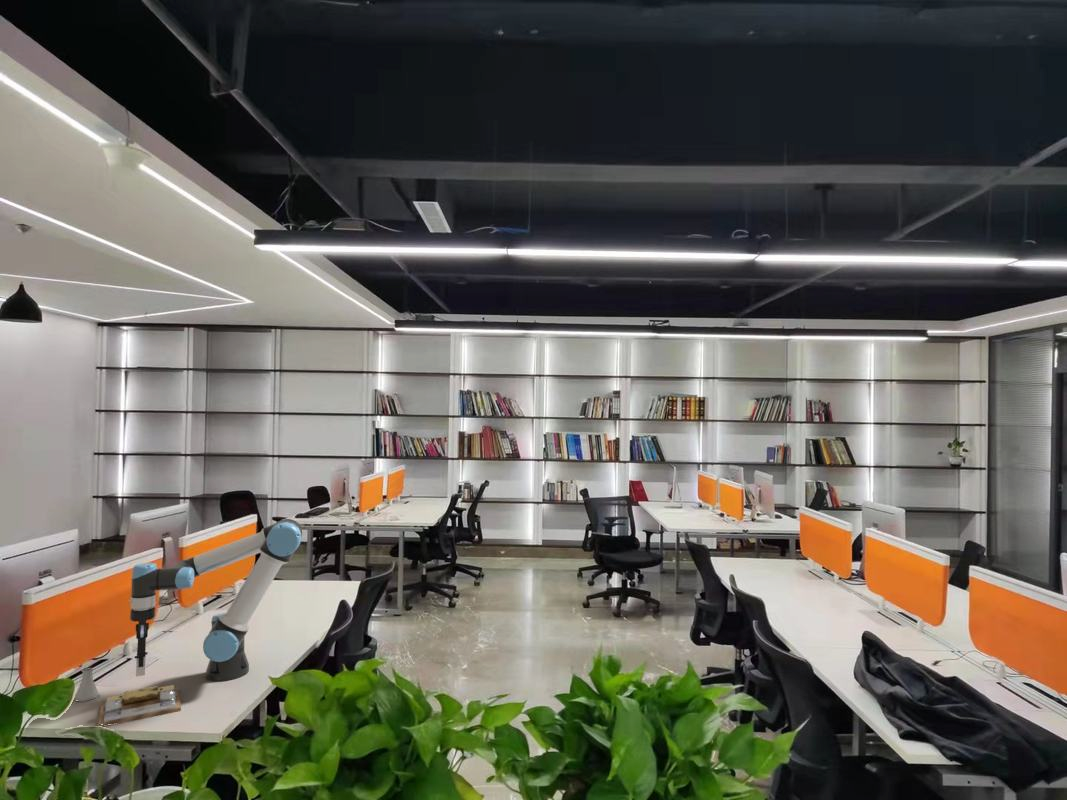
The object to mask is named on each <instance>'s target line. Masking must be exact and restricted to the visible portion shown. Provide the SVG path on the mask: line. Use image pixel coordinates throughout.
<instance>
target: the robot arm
mask: <svg viewBox="0 0 1067 800" xmlns="http://www.w3.org/2000/svg"><path fill="white" fill-rule="evenodd" d="M302 536H303V529H302V527H301V525H300V524H299V522H297V521H296V520H294V519H292V518H291V519H290V518H285V519H280V520H278V521H277V522H275V523H273V524H271V525H268V526H266V527H263V528H262V529H261V531H260V532H257V533H253V534H251V535H250V536H246V537H244V538H240V539H238V540H235V541H233V542H230V543H227V544H224V545H221V546H219V547H216V548H213V549H211V550H208V551H206V552H205V551H204V552H203V553H200V554H197V555H195V556H193V557H190V558H186V559H181V560H179V561H177V562H176V563H175V564H174V565H173V566H172V567H170V568H158V566H157V563H155V562H143V563H138V564H135V565H134V566H132V567H133V568H132V573H131V578H130V580H131V593H130V594H131V595H130V596H131V598H130V599H129V600H128V603H130V609H131V610H130V615H129V619H130V621H132V622H138V623H136V624H135V632H136V638H135V639H136V640H137V648H136V649H137V650H136V655H135V656H134V659H136V660H135V661H136V664H135V665H136V666H135V676H136V677H142V676H145V675H146V659H147V658H146V655H148V651H146V650H147V649H146V647H147V646H146V645H147V638H148V636H149V635H148V632H149V625H150V623H149V622H147V621H149V620H153V619H154V618H155V616H156V607H155V606H156V601H157V597H156V596H157V595H156V593H157V591H168V590H170V591H171V590H184V589H190V588H192V587H193V585H194V582H195V578H196V577H199V576H202V575H204V574H206V573H209V572H212V571H214V570H218V569H221V568H223V567H225V566H228V565H231V564H234V563H237V562H239V561H241V560H244V559H246V558H249V557H252V556H255V555H258V554H260V556H259V558H258V559H257V561H256V563H255V564H254V565H253V567H252V569H251V570H250V573H249V574H248V576H247V577H246V579H245V581H244V582H243V584H242V586H241V588H240V589H239V591H238V592H237V594H236V596H235V597H234V599H233V601H232V602H231V603H230V606H229V607H228V609H227V611H226V612H223V613H218V614H214V615H213V616H212V617H211V622H210V623H211V628H210V631H209V632H208V634H207V636H206V637H205V638H204V639H203V640H204V641H203V645H202V649H203V653H204V656H205V657H206V658H207V659H208V660H209V661H208V665H207V667H206V670H205V678H206V679H207V680H209V681H213V682H219V681H220V682H221V681H222V682H223V681H228V680H230V681H231V680H233V679H237V678H241V677H243V676H245V675H247V674H248V673H249V671H250V663H249V661H248V658H247V655H246V651H245V637H246V635H247V633H248V631H249V629H250V627H249V624H248V623H249V621H250V620H251V619H252V617H253V615H254V613H255V612H256V609H257V608H258V607H259V605H260V603H261V602H262V600H263V597H264V596H265V594H266V593H267V591H268V589H269V588H270V586H271V584H272V582H273V581H274V580H275V578H276V576H277V574H278V573H279V571H280V569H281V567H282V566H283V565H286V564H288V563H289V562H290V560H291V559H292V556H293V555H294V553H295V552H296V551H297V549H298V548H299V547H300V544H301V542H302Z"/></svg>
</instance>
